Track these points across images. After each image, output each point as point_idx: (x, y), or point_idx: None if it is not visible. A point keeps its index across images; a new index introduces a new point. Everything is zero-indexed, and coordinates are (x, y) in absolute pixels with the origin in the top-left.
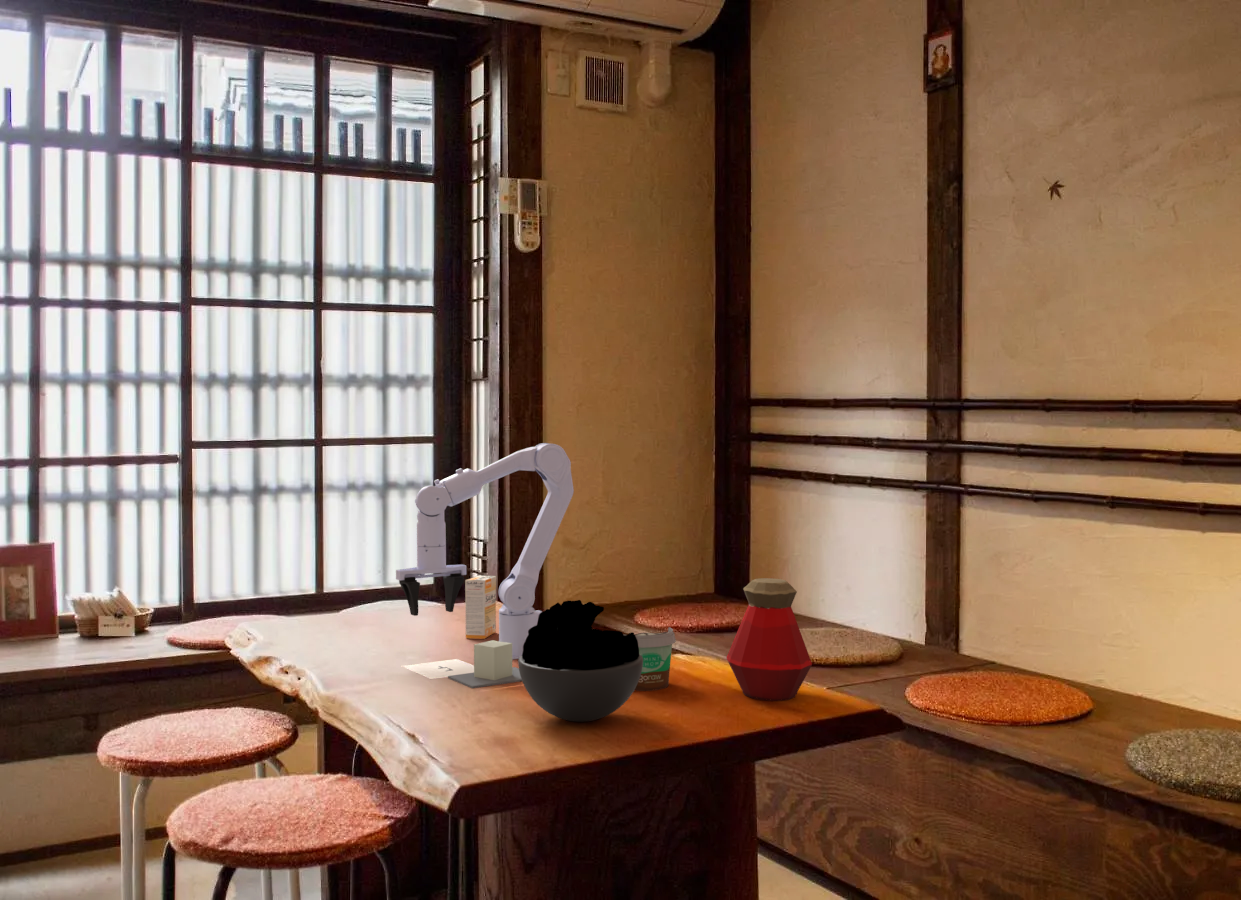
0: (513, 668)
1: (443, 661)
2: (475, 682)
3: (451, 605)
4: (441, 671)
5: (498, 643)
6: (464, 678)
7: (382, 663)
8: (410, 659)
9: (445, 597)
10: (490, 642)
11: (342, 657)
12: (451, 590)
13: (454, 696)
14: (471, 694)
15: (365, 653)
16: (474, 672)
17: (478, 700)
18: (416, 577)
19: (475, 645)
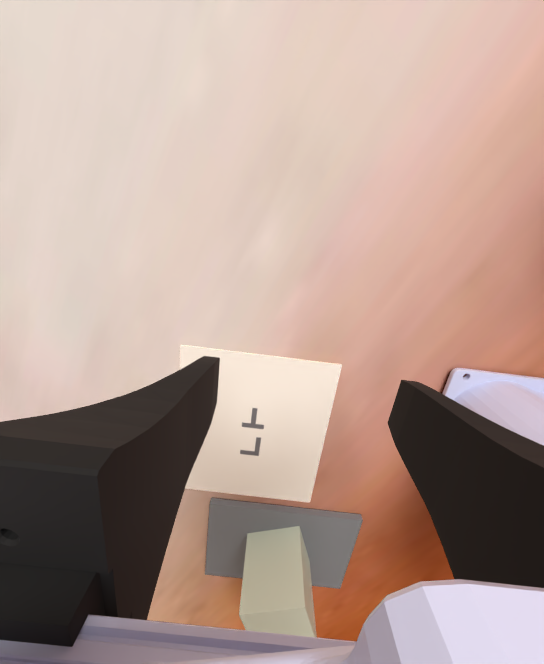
0: (351, 527)
1: (296, 368)
2: (224, 561)
3: (402, 455)
4: (231, 450)
5: (291, 633)
6: (224, 533)
7: (158, 266)
8: (250, 271)
9: (447, 413)
10: (284, 619)
11: (73, 65)
12: (452, 540)
13: (160, 579)
14: (189, 584)
15: (172, 51)
16: (247, 542)
17: (180, 609)
18: (121, 656)
19: (241, 615)
